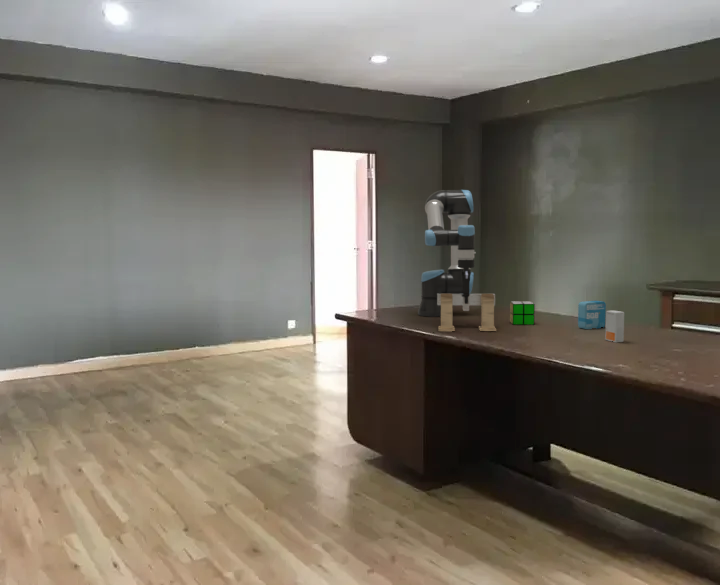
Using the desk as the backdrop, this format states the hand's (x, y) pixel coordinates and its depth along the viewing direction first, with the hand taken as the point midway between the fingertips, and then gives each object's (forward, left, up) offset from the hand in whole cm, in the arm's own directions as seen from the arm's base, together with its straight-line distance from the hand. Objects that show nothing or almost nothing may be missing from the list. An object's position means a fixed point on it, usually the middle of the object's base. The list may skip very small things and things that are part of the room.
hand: (465, 310), depth 308 cm
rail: (0, 0, +2) cm, 2 cm away
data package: (+1, +56, -8) cm, 57 cm away
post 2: (+10, +9, -8) cm, 15 cm away
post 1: (+10, -9, -8) cm, 15 cm away
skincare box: (+35, +57, -8) cm, 67 cm away
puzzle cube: (-12, +27, -8) cm, 31 cm away
